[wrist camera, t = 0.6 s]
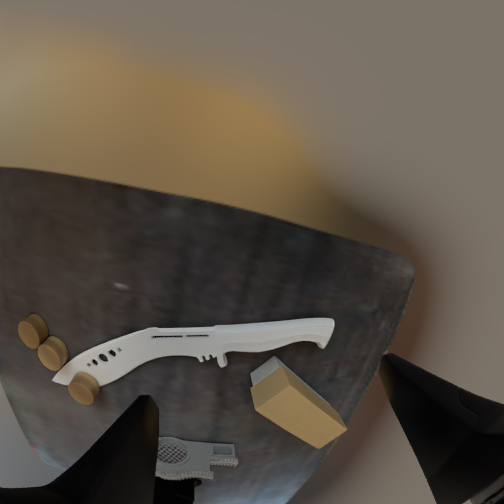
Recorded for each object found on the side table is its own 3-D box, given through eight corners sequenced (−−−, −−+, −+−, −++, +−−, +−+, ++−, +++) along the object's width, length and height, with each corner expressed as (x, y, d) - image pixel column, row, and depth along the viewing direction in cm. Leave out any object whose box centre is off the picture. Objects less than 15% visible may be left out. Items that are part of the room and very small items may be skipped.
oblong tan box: (305, 419, 26) (318, 449, 21) (247, 375, 24) (254, 410, 19) (330, 400, 26) (347, 429, 21) (276, 352, 24) (290, 385, 19)
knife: (49, 386, 20) (25, 324, 19) (55, 378, 22) (33, 318, 20) (328, 388, 23) (337, 319, 21) (323, 379, 25) (331, 311, 23)
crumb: (42, 345, 20) (33, 353, 18) (24, 323, 20) (14, 331, 18) (52, 330, 20) (43, 339, 18) (34, 308, 20) (23, 315, 18)
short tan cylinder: (62, 365, 21) (54, 375, 19) (42, 345, 20) (33, 354, 18) (73, 352, 21) (65, 362, 19) (53, 330, 20) (43, 339, 18)
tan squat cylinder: (92, 398, 22) (87, 409, 20) (71, 380, 21) (63, 390, 19) (104, 385, 21) (98, 397, 20) (81, 366, 21) (73, 377, 19)
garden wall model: (236, 441, 25) (241, 480, 20) (234, 450, 26) (239, 487, 20) (133, 430, 23) (123, 467, 18) (134, 438, 24) (126, 475, 18)
